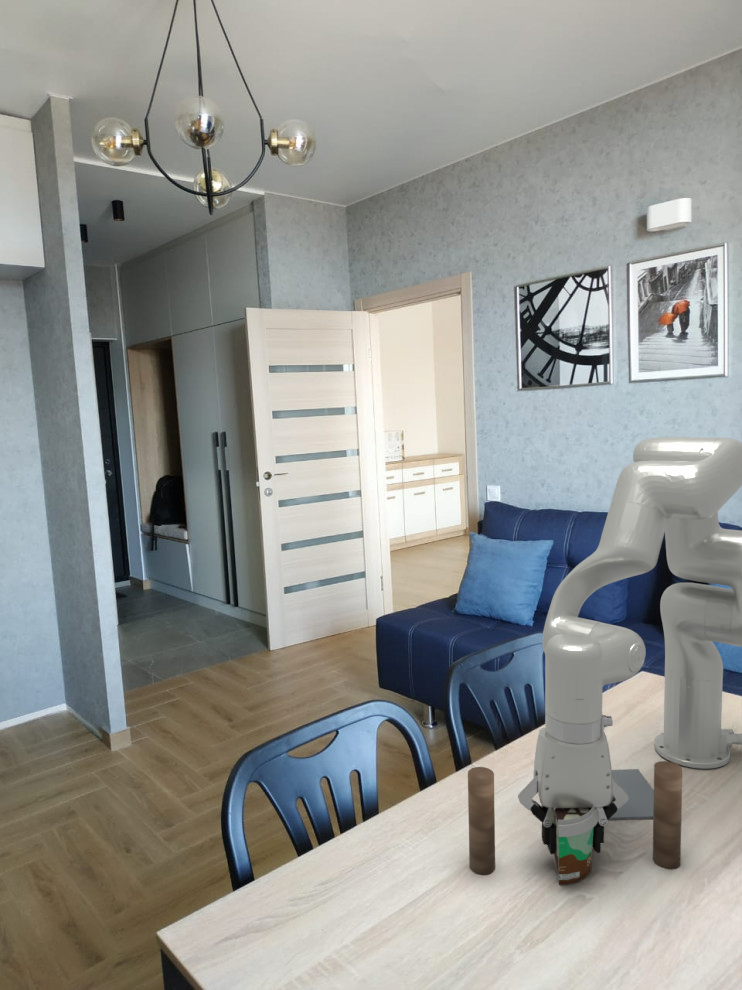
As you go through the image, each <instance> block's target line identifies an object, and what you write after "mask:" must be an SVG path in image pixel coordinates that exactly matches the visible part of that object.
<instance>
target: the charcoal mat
mask: <svg viewBox="0 0 742 990" xmlns="http://www.w3.org/2000/svg"><path fill="white" fill-rule="evenodd" d="M612 779H613V780H614V781H615V782H616V783H617V784H618V785H619V786H620V787H621V788H622V789H623V790H624V791H625V793H626V794H627V796H628V797H629V800H628V801H627V802H626V803H625V804H624V805H622V806H621V807H620V808H618V809H617V812H616V813H615V814H614V815H613V816H612V817H610V818H609V819H608V821H620V820H653V809H654V788H653V787H652V786H651V785H650V783H649V782H648V781H647V779H646V778H645V776H644V775H643V774H642V772H641V771H640V769H639V768H637V769H636V768H634V769H632V768H631V769H612Z"/></svg>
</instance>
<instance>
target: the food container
mask: <svg viewBox="0 0 742 990" xmlns="http://www.w3.org/2000/svg"><path fill="white" fill-rule="evenodd" d="M598 820H599V813H598V809H597V807H594V805H593V807H592V808H558V809H556V815H555V817H554V820H553V823H554V825H555V828H556V853H554V854H552V855H553V860H554V865H555V866H554V867H555V870H556V876H557V877H556V878H557V882H558V885H559V886H561V885H563V886H564V885H565V886H566V885H573V884H576V883H577V884H578V883H579V882H582V881H583V880H585V879H586V878H587V877H588V876H589V874H590V873H591V871H592V870H591V869H592V864H593V863H592V861H593V831H594V826H595V825H596V824H597V822H598Z"/></svg>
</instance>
